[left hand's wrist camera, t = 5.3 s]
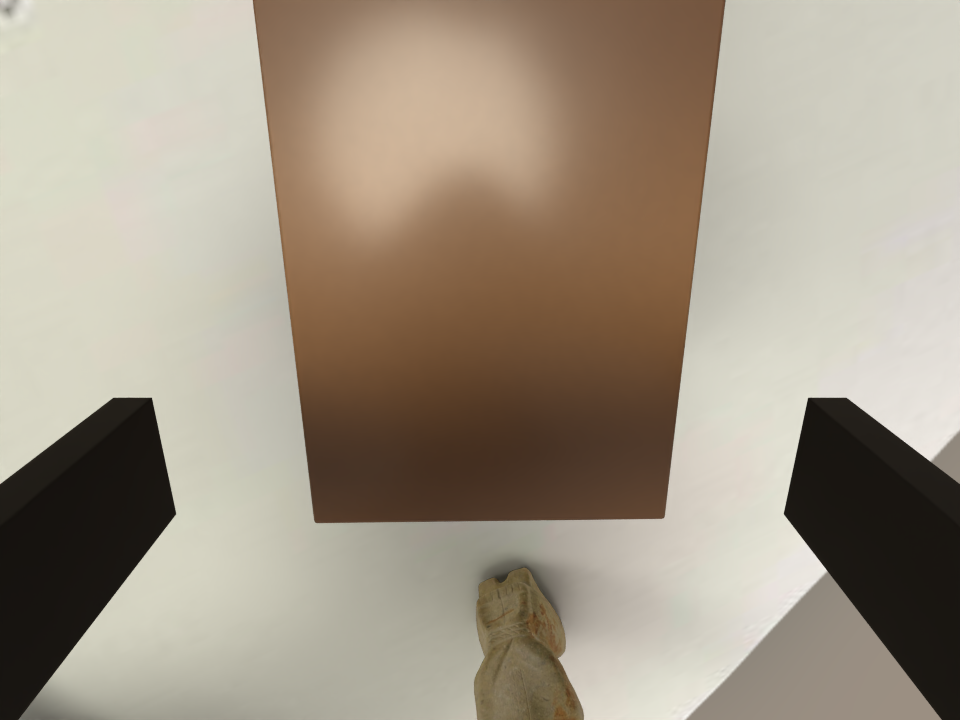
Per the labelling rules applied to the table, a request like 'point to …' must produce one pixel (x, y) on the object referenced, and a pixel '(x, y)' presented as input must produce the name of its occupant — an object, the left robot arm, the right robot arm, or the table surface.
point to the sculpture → (521, 654)
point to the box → (488, 247)
